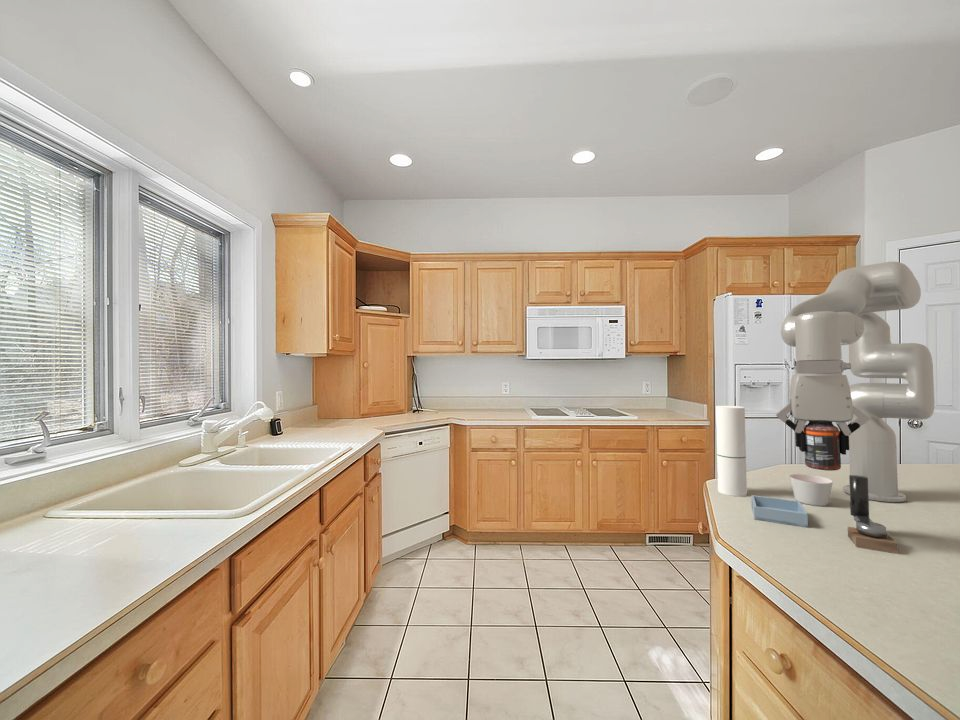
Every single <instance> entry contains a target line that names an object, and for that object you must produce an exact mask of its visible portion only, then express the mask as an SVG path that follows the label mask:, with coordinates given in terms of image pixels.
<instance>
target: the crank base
mask: <svg viewBox="0 0 960 720" xmlns="http://www.w3.org/2000/svg"><path fill="white" fill-rule="evenodd" d="M886 534H887V536H886V537H874V536H869V535H865V534H862V533H860V532H858V531H857V530H856V527H853V526H847V536H848V538H849V540H850V541H851V542H852V543H853V545H854V544H855V545H854V546H855V547H856V548H860V547H862V549H866V548H867V550H872V551H879V552H886V553H892V554H897V555H898V554H899V553H898V549H899V548H898V542H897V541H896V540H894V538H893V537H892V536H890V534H889V533H888V532H886Z"/></svg>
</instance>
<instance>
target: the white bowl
mask: <svg viewBox="0 0 960 720" xmlns="http://www.w3.org/2000/svg"><path fill="white" fill-rule="evenodd" d="M788 477H789V480H790V484H791V488H792V493H793V498H794V501H800V503H801V504H804V505H810V506H815V507H824V506H827V505H829V504H830V503H829V502H830V497H831V493H832V489H833V488H832V487H833V483H834V481H833V480H831V479H830V478H828V477H824V476H819V475H814V474H803V473H793V474H789V476H788Z"/></svg>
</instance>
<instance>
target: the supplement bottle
mask: <svg viewBox="0 0 960 720" xmlns="http://www.w3.org/2000/svg"><path fill="white" fill-rule="evenodd" d="M839 431H840V430H839V428H838V426H837V425H836V426H835V424H834V423H833V422H829V421H826V420H817V421H808V423H806V424H805V426H804V428H803V433H804V434H805V445H806V451H805V452H803V453H804V464H805V466H806V467H808V468H809V469H810V468H811V469H813V470H820V471H829V472H830V471H831V472H832V471H839V470H841V467H842V462H841V453H840V438H839Z"/></svg>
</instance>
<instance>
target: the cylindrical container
mask: <svg viewBox="0 0 960 720" xmlns="http://www.w3.org/2000/svg"><path fill="white" fill-rule="evenodd" d="M745 408H746V407H745V406H742V405H741V406H740V405H715V424H716V460H717V461H716V464H717V465H716V466H717V468H716V469H717V491H718V493H719V494H722V495H726V496H730V497H746V496H747V495H748V488H747V487H748V482H747V481H748V479H747V451H746V450H747V449H746V448H747V446H746V441H747V440H746V415H745V414H746V411H745Z"/></svg>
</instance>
